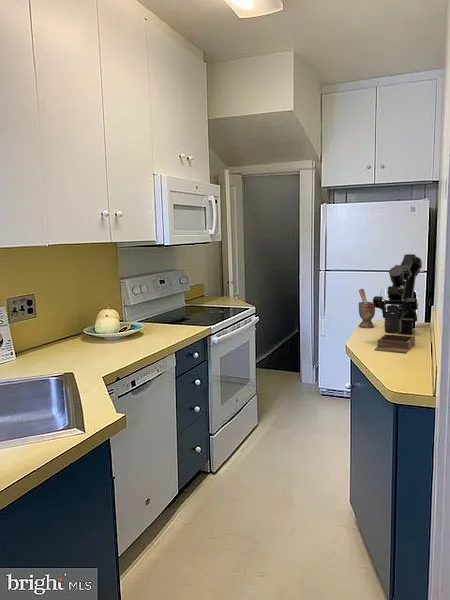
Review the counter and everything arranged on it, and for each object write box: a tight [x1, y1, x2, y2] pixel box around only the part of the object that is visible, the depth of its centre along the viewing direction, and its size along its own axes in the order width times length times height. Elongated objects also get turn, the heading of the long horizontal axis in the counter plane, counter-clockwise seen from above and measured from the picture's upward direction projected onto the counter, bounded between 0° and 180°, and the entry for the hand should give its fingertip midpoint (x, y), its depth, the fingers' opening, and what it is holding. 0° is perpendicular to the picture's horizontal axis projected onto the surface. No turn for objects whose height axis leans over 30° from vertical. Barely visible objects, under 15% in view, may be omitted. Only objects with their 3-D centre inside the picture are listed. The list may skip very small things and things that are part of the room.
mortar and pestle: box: [358, 288, 376, 329], centre depth 258 cm, size 12×9×20 cm
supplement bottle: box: [384, 304, 401, 335], centre depth 213 cm, size 7×7×12 cm
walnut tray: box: [374, 333, 416, 354], centre depth 211 cm, size 18×13×4 cm
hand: (391, 318), depth 212 cm, fingers closed on supplement bottle, 7 cm apart
